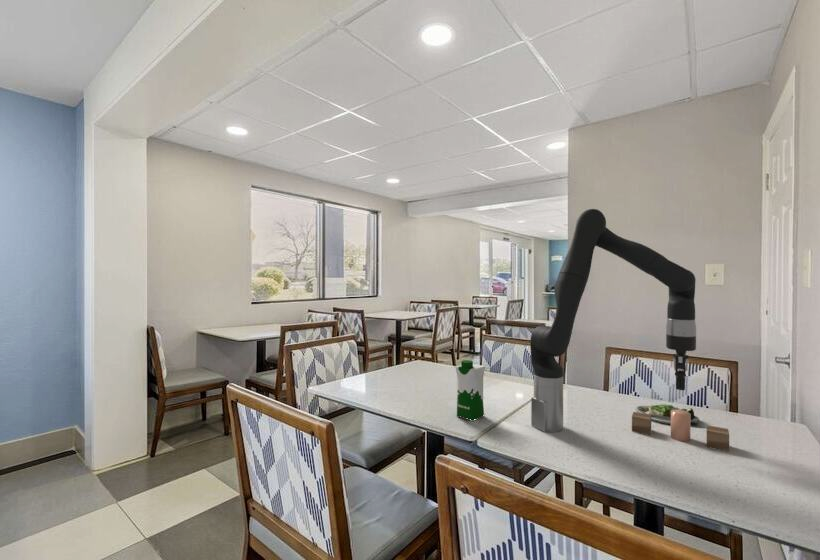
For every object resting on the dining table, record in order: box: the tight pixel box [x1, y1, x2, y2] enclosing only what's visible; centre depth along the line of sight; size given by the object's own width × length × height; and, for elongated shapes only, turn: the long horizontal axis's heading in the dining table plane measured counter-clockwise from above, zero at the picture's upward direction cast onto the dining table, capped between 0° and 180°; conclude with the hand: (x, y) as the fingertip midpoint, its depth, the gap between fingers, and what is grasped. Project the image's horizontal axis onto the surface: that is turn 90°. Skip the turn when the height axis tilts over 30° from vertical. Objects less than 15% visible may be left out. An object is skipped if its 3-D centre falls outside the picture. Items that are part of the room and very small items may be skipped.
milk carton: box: [455, 359, 486, 420], centre depth 139 cm, size 9×9×20 cm
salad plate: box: [635, 403, 702, 425], centre depth 137 cm, size 19×18×5 cm
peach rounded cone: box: [670, 410, 692, 443], centre depth 119 cm, size 5×5×8 cm
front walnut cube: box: [705, 424, 730, 452], centre depth 114 cm, size 5×5×5 cm
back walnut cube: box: [631, 411, 652, 436], centre depth 126 cm, size 5×5×5 cm
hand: (680, 386), depth 119 cm, fingers open, 8 cm apart
